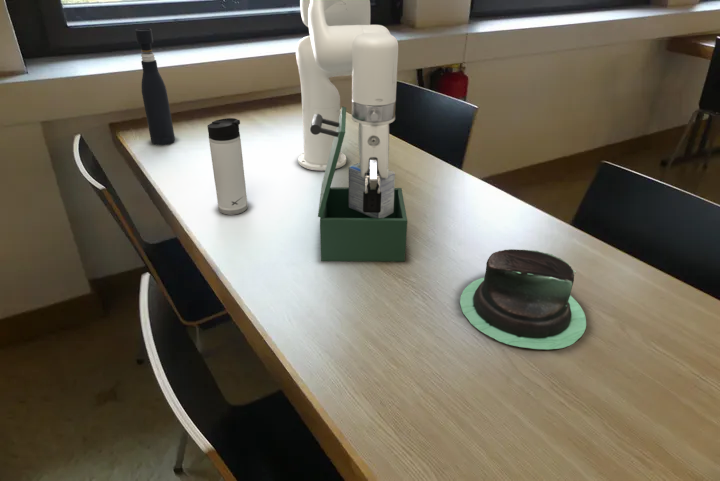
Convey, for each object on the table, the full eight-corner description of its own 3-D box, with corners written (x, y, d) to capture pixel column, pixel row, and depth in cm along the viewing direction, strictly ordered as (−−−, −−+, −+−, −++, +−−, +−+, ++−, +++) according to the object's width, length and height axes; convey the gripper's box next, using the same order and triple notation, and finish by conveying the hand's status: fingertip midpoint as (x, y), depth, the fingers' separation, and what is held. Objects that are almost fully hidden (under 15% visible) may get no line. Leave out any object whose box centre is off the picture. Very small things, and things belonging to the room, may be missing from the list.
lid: (346, 107, 98) (316, 99, 97) (345, 132, 86) (311, 123, 86) (325, 185, 106) (298, 178, 105) (322, 218, 94) (291, 210, 94)
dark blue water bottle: (180, 140, 152) (161, 29, 137) (161, 147, 148) (140, 32, 132) (164, 136, 155) (145, 26, 140) (146, 142, 151) (124, 30, 135)
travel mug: (242, 216, 114) (232, 126, 103) (213, 213, 115) (200, 123, 104) (253, 203, 119) (244, 116, 109) (225, 200, 120) (214, 114, 110)
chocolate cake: (570, 271, 96) (613, 350, 79) (473, 308, 101) (494, 390, 84) (544, 206, 89) (585, 278, 72) (441, 250, 94) (457, 326, 77)
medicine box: (394, 213, 101) (396, 171, 96) (378, 222, 98) (380, 178, 93) (363, 200, 105) (364, 159, 101) (347, 208, 102) (347, 166, 98)
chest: (399, 226, 111) (401, 187, 107) (404, 261, 99) (407, 220, 95) (324, 225, 111) (323, 187, 106) (321, 261, 99) (319, 219, 95)
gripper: (398, 127, 84) (393, 223, 93) (392, 96, 99) (388, 181, 108) (351, 126, 84) (350, 222, 93) (351, 95, 99) (351, 181, 108)
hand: (371, 200), depth 100 cm, fingers closed on medicine box, 8 cm apart
